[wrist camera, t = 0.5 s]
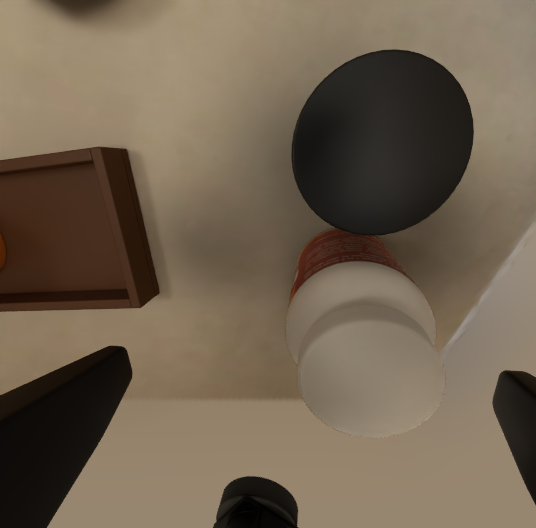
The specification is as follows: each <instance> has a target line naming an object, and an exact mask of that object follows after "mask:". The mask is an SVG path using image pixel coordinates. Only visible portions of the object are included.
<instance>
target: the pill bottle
mask: <svg viewBox="0 0 536 528" xmlns="http://www.w3.org/2000/svg"><path fill="white" fill-rule="evenodd" d="M285 332H286V340H287V345H288V348H289V351H290V353H291V356H292V357H293V359H294V361H295V363H296V364H297V366H298V385H299V389H300V393H301V396H302V398H303V400H304V402H305V403H306V405H307V406H308V408H309V409H310V411H311V412H312V413H313V414H314V415H315V416H316V417H317V418H318V419H320V420H321V421H322V422H324V423H325V424H327V425H328V426H330V427H332V428H333V429H335V430H337V431H340V432H343V433H346V434H349V435H353V436H358V437H367V438H382V437H389V436H394V435H398V434H402V433H404V432H407V431H409V430H411V429H413V428H415V427H417V426H419V425H420V424H422V423H423V422H424V421H426V420H427V419H428V418H429V417H430V416H431V415H432V414H433V413H434V412H435V410H436V409H437V408H438V406H439V405H440V403H441V400H442V398H443V395H444V392H445V386H446V376H445V369H444V365H443V362H442V360H441V358H440V355H439V354H438V352H437V350H436V349H435V347H434V345H435V340H436V325H435V319H434V316H433V312H432V310H431V307H430V305H429V303H428V301H427V300H426V298H425V297H424V295H423V294H422V292H421V291H420V289H419V288H418V287H417V285H416V284H415V283H414V282H413V281H412V280H411V278H410V277H409V276H408V275H407V274H406V272H405V271H404V270H403V269H402V268H401V266H400V265H399V264H398V263H397V262H396V260H395V259H394V258H393V257H392V255H391V254H390V253H389V251H388V250H387V249H386V248H385V246H384V245H383V244H382V243H381V242H380V241H379V240H378V239H376V238H375V237H374V236H371V235H359V234H353V233H349V232H346V231H342V230H340V229H338V228H333V229H329V230H326V231H324V232H322V233H320V234H318V235H317V236H315V237H314V238H313V239H312V240H310V241H309V242H308V243H307V245H306V246H305V247H304V249H303V250H302V252H301V254H300V256H299V258H298V261H297V264H296V269H295V275H294V280H293V285H292V291H291V296H290V301H289V306H288V311H287V316H286V325H285Z"/></svg>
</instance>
